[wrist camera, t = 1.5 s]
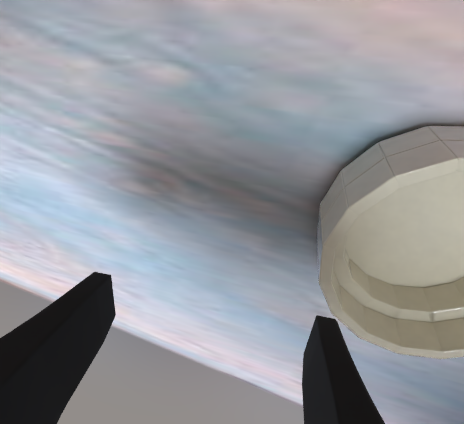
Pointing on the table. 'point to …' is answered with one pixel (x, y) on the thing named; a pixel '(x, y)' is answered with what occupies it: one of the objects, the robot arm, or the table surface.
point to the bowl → (399, 244)
